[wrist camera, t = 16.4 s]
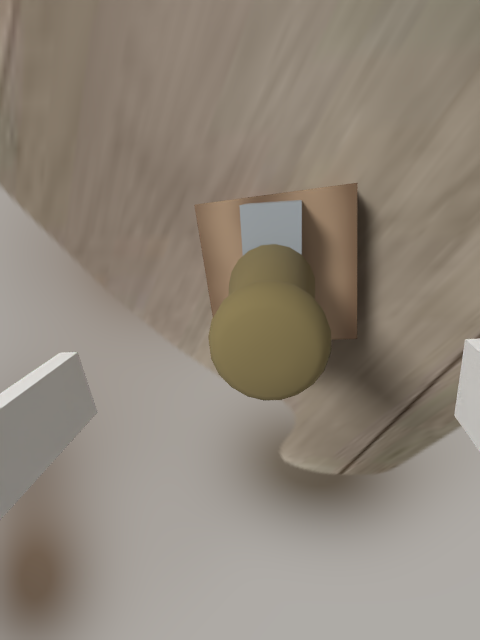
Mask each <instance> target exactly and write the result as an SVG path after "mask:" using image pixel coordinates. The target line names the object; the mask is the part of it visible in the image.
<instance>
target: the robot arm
mask: <svg viewBox="0 0 480 640" xmlns="http://www.w3.org/2000/svg"><path fill="white" fill-rule="evenodd" d="M96 414H97V410H96V406H95V403H94V400H93V398H92V395H91V392H90V388H89V385H88V382H87V379H86V376H85V373H84V370H83V367H82V364H81V361H80V358H79V355H78V352H66V353H59V354H57V355H56V356H54V357H53V358H52V359H50V360H49V361H47V362H46V363H44V364H43V365H41V366H40V367H38V368H37V369H35V370H34V371H32V372H31V373H30V374H28V375H27V376H25V377H24V378H22V379H21V380H19V381H18V382H16V383H15V384H13V385H12V386H11V387H9V388H7V389H6V390H5V391H3V392H2V393H0V520H1V518H3V516H4V515H5V514H6V513H7V512H8V511H9V510H10V509H11V508H12V507H13V505H14V504H15V503H16V502H17V501H18V500H19V499H20V498H21V496H22V495H23V494H24V493H25V492H26V491H27V490H28V489H29V488H30V487H31V485H32V484H33V483H34V482H35V481H36V480H37V479H38V478H39V476H41V474H42V473H43V472H44V471H45V470H46V469H47V468H48V467H49V466H50V464H51V463H52V462H53V461H54V460H55V459H56V458H57V457H58V456H59V455H60V453H61V452H62V451H63V450H64V449H65V448H66V447H67V446H68V445H69V443H70V442H71V441H72V440H73V439H74V438H75V437H76V435H77V434H78V433H79V432H80V431H81V430H82V429H83V428H84V427H85V426H86V425H87V424H88V422H89V421H90V420H91V419H92V418H93V417H94V416H95V415H96ZM454 416H455V417H456V419H457V420H458V421H459V423H460V424H461V426H462V427H463V429H464V430H465V431H466V433H467V434H468V436H469V437H470V439H471V440H472V442H473V443H474V444H475V446H476V447H477V449H478V450H479V452H480V339H465V344H464V351H463V358H462V365H461V373H460V380H459V387H458V394H457V401H456V408H455V415H454Z"/></svg>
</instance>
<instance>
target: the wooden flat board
mask: <svg viewBox="0 0 480 640" xmlns="http://www.w3.org/2000/svg"><path fill="white" fill-rule="evenodd" d="M294 200H302V256H303V257H304V258H305V260H306V261H307V262H308V263H309V264H310V266H311V269H312V271H313V274H314V277H315V300H316V302H317V303H318V304H319V305H320V306H321V307H322V309H323V311H324V313H325V315H326V318H327V321H328V323H329V326H330V329H331V340H337V339H357V183H353V184H345V185H338V186H330V187H323V188H315V189H308V190H301V191H293V192H286V193H278V194H271V195H263V196H256V197H248V198H241V199H234V200H226V201H219V202H211V203H204V204H196V205H195V212H196V218H197V224H198V230H199V236H200V242H201V248H202V254H203V260H204V266H205V272H206V278H207V284H208V290H209V296H210V303H211V309H212V315H213V317H214V315H215V314H216V312H217V310H218V309H219V307H220V305H221V303H222V302H223V300H224V299H225V298H227V297H228V295H229V281H230V277H231V272H232V270H233V268H234V267H235V265H236V263H237V261H238V260H239V259H240V258H241V257H242V256H243V253H242V237H241V221H240V205H243V204H248V203H263V202H278V201H294Z"/></svg>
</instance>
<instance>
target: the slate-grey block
mask: <svg viewBox="0 0 480 640" xmlns="http://www.w3.org/2000/svg"><path fill="white" fill-rule="evenodd" d="M240 221H241V237H242V253H243V255H245V254H246V253H247V252H248V251H249V250H252V249H254V248H256V247H259V246H261V245H270V244H278V245H282V246H286V247H290V248H292V249H293V250H295V251H296V252H298V253H300V254H301V255H302V200H294V201H278V202H263V203H248V204H243V205H240Z"/></svg>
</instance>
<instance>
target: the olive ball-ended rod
mask: <svg viewBox="0 0 480 640" xmlns="http://www.w3.org/2000/svg"><path fill="white" fill-rule="evenodd" d="M209 346H210V353H211V359H212V361H213V363H214V365H215V367H216V369H217V371H218V373H219V375H220V376H221V377H222V378H223V379H224V380H225V381H226V382H227V383H228V384H229V385H230V386H231V387H232V388H234V389H236V390H238V391H239V392H241V393H243V394H245V395H246V396H248V397H253V398H257V399H260V400H282V399H285V398H288V397H291V396H295V395H297V394H299V393H301V392H302V391H304V390H305V389H307V388H308V387H310V386H311V385H313V384H314V383H315V381H316V380H317V379H318V378H319V376H320V375H321V374H322V373H323V371H324V370H325V367H326V364H327V361H328V358H329V356H330V352H331V329H330V326H329V323H328V321H327V318H326V315H325V313H324V311H323V309H322V307H321V306H320V305H319V304H318V303H317V302H316V300H315V277H314V274H313V271H312V269H311V266H310V264H309V263H308V262H307V261H306V260H305V258H304V257H303V256H302V255H301V254H300V253H298V252H296V251H295V250H293V249H292V248H290V247H286V246H282V245H278V244H270V245H261V246H259V247H256V248H254V249H252V250H249V251H248V252H247V253H246V254H245V255H243V256H242V257H241V258H240V259H239V260H238V261H237V263H236V265H235V267H234V268H233V270H232V272H231V277H230V281H229V295H228V297H227V298H225V299H224V300H223V302H222V303H221V305H220V307H219V309H218V310H217V312H216V314H215V315H214V317H213V319H212V322H211V327H210V332H209Z"/></svg>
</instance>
